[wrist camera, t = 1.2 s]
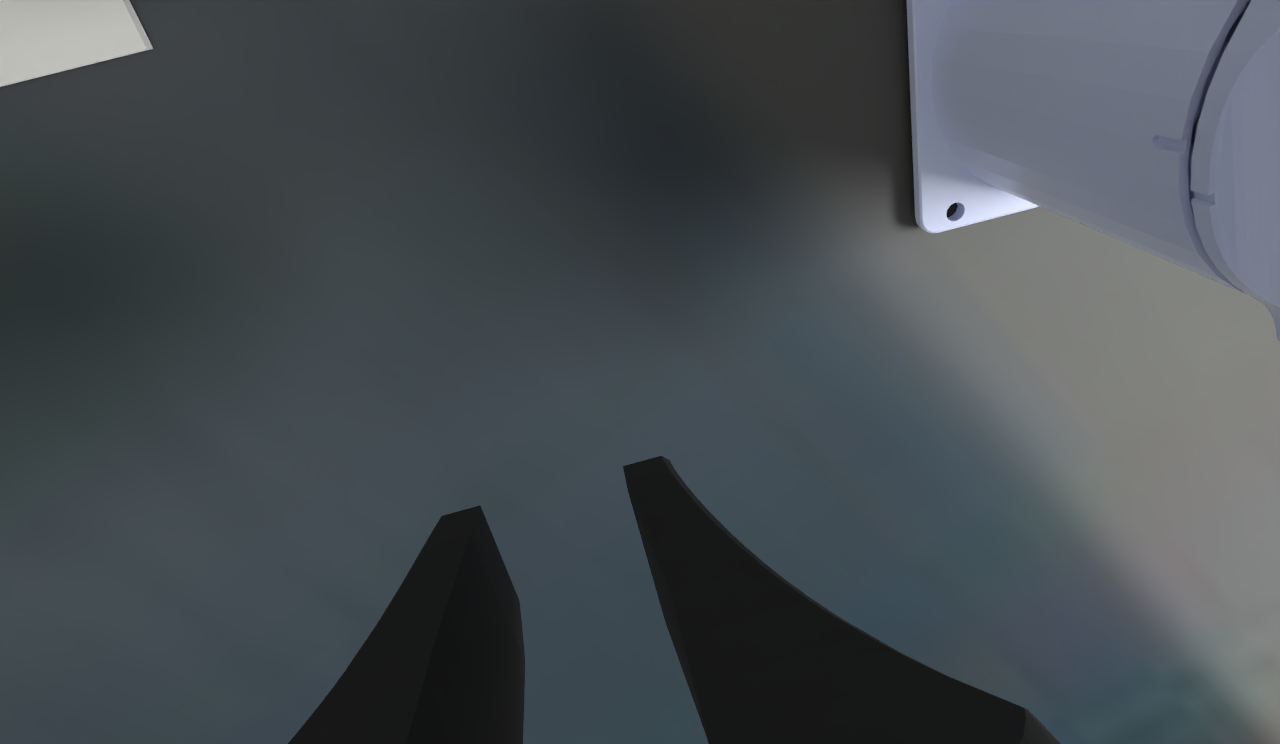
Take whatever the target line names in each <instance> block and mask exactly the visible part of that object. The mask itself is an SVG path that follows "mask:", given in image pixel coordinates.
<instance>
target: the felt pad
mask: <svg viewBox="0 0 1280 744" xmlns="http://www.w3.org/2000/svg"><path fill="white" fill-rule="evenodd" d="M150 49H153V47H152V45H151V43H150V41H149V39H148V37H147V35H146V33H145V31H144V29H143V27H142V25H141V23H140V21H139V19H138V17H137V15H136V13H135V11H134V9H133V7H132V5H131V3H130V1H129V0H0V87H3V86H7V85H11V84H15V83H19V82H23V81H27V80H31V79H35V78H39V77H43V76H47V75H51V74H55V73H59V72H63V71H67V70H71V69H75V68H79V67H83V66H87V65H90V64H94V63H98V62H102V61H106V60H110V59H114V58H118V57H122V56H126V55H130V54H134V53H138V52H142V51H146V50H150Z"/></svg>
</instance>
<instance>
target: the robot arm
mask: <svg viewBox="0 0 1280 744" xmlns="http://www.w3.org/2000/svg"><path fill="white" fill-rule="evenodd" d="M907 24H908V49H909V74H910V99H911V124H912V149H913V174H914V200H915V219H916V222H917V224H918V226H919V227H920V228H921V229H923V230H925V231H927V232H929V233H939V232H943V231H947V230H951V229H955V228H958V227H962V226H966V225H970V224H974V223H978V222H982V221H986V220H989V219H993V218H997V217H1001V216H1005V215H1009V214H1013V213H1016V212H1020V211H1024V210H1028V209H1032V208H1036V207H1043V208H1045V209H1047V210H1050V211H1052V212H1054V213H1057V214H1059V215H1061V216H1064V217H1066V218H1069V219H1071V220H1073V221H1076V222H1078V223H1080V224H1083V225H1085V226H1087V227H1090V228H1092V229H1094V230H1097V231H1099V232H1101V233H1104V234H1106V235H1109V236H1111V237H1113V238H1116V239H1118V240H1120V241H1123V242H1125V243H1127V244H1130V245H1132V246H1134V247H1137V248H1139V249H1141V250H1144V251H1146V252H1148V253H1151V254H1153V255H1156V256H1158V257H1160V258H1163V259H1165V260H1167V261H1170V262H1172V263H1174V264H1177V265H1179V266H1181V267H1184V268H1186V269H1188V270H1191V271H1193V272H1195V273H1198V274H1200V275H1203V276H1205V277H1207V278H1210V279H1212V280H1214V281H1217V282H1219V283H1221V284H1224V285H1226V286H1228V287H1231V288H1233V289H1235V290H1238V291H1240V292H1243V293H1246V294H1249V295H1251V296H1252V297H1254V298H1255V299H1257V300H1258V301H1260V302H1261V303H1263V304H1264V305H1265V306H1266V307H1267V309H1268V310H1269V311H1270V313H1271V315H1272V317H1273V319H1274V322H1275V326H1276V334H1277V338H1278V340H1280V0H907ZM954 203H957V205H958V206H957V210H956V212H955V213H954V214H953V215H952V216H950V217H947V215H946V213H947V209H948V208H949V207H950V205H952V204H954ZM623 468H624V473H625V478H626V483H627V488H628V492H629V496H630V499H631V503H632V506H633V510H634V513H635V517H636V520H637V524H638V527H639V531H640V534H641V538H642V541H643V545H644V548H645V552H646V555H647V559H648V562H649V566H650V569H651V573H652V576H653V580H654V583H655V587H656V590H657V594H658V597H659V601H660V605H661V608H662V612H663V615H664V619H665V622H666V625H667V628H668V630H669V633H670V636H671V639H672V641H673V644H674V647H675V650H676V653H677V655H678V658H679V661H680V664H681V667H682V669H683V672H684V675H685V678H686V680H687V683H688V686H689V689H690V692H691V694H692V697H693V700H694V703H695V705H696V708H697V711H698V714H699V717H700V719H701V722H702V725H703V728H704V730H705V733H706V736H707V739H708V743H709V744H1061V743H1060V742H1059V741H1058V740H1057V739H1056V738H1055V737H1054V736H1053V735H1052V734H1051V733H1050V732H1049V731H1048V730H1047V729H1046V728H1045V727H1044V726H1043V725H1042V724H1041V723H1040V722H1039V721H1038V720H1037V719H1036V718H1035V717H1034V716H1033V715H1032V714H1031V713H1030V712H1029V711H1028V710H1027V709H1025V708H1023V707H1020V706H1018V705H1016V704H1013V703H1011V702H1008V701H1006V700H1003V699H1001V698H999V697H996V696H994V695H991V694H989V693H987V692H984V691H982V690H979V689H977V688H975V687H972V686H970V685H967V684H965V683H962V682H960V681H958V680H955V679H953V678H950V677H948V676H946V675H944V674H942V673H940V672H938V671H936V670H934V669H932V668H930V667H928V666H926V665H924V664H922V663H920V662H918V661H916V660H914V659H912V658H910V657H908V656H906V655H904V654H902V653H900V652H898V651H897V650H895V649H893V648H891V647H890V646H888V645H886V644H884V643H883V642H881V641H879V640H877V639H876V638H874V637H872V636H870V635H869V634H867V633H865V632H863V631H862V630H860V629H858V628H856V627H855V626H853V625H851V624H849V623H848V622H846V621H844V620H843V619H841V618H839V617H838V616H836V615H835V614H833V613H832V612H830V611H829V610H827V609H826V608H824V607H823V606H821V605H820V604H818V603H817V602H815V601H814V600H812V599H811V598H809V597H808V596H807V595H805V594H804V593H803V592H801V591H800V590H798V589H797V588H796V587H794V586H793V585H791V584H790V583H789V582H787V581H786V580H785V579H784V578H782V577H781V576H780V575H778V574H777V573H776V572H775V571H773V570H772V569H771V568H770V567H768V566H767V565H766V564H765V563H764V562H762V561H761V560H760V559H759V558H758V557H757V556H755V555H754V554H753V553H752V552H751V551H750V550H749V549H747V548H746V547H745V546H744V545H743V544H742V543H741V542H740V541H739V540H737V539H736V538H735V537H734V536H733V535H732V534H731V533H730V532H729V531H728V530H727V529H726V528H725V527H724V526H723V525H722V524H721V523H720V522H719V521H718V520H717V519H716V518H715V517H714V516H713V515H712V514H711V513H710V512H709V511H708V510H707V509H706V508H705V507H704V505H703V504H702V503H701V502H700V501H699V500H698V499H697V498H696V496H695V495H694V494H693V493H692V492H691V490H690V489H689V488H688V487H687V486H686V484H685V483H684V482H683V480H682V479H681V478H680V476H679V475H678V474H677V472H676V470H675V469H674V467H673V466H672V464H671V462H670V460H668V459H666V458H664V457H662V456H659V457H655V458H652V459H648V460H644V461H641V462H637V463H633V464H630V465H626V466H623ZM524 685H525V655H524V643H523V632H522V622H521V612H520V602H519V599H518V596H517V594H516V591H515V589H514V587H513V584H512V582H511V579H510V577H509V574H508V572H507V570H506V567H505V565H504V562H503V560H502V557H501V555H500V552H499V550H498V548H497V545H496V543H495V540H494V538H493V535H492V533H491V531H490V528H489V526H488V523H487V521H486V518H485V516H484V513H483V511H482V509H481V506H477V507H473V508H469V509H466V510H462V511H458V512H455V513H451V514H448V515H444V516H442V517H441V518H440V520H439V522H438V523H437V525H436V526H435V528H434V530H433V531H432V533H431V535H430V536H429V538H428V540H427V541H426V543H425V545H424V547H423V548H422V550H421V552H420V554H419V555H418V557H417V559H416V560H415V562H414V564H413V566H412V567H411V569H410V571H409V572H408V574H407V576H406V578H405V579H404V581H403V583H402V584H401V586H400V588H399V589H398V591H397V593H396V594H395V596H394V597H393V599H392V601H391V602H390V604H389V606H388V607H387V609H386V610H385V612H384V614H383V615H382V617H381V619H380V620H379V622H378V623H377V625H376V626H375V628H374V629H373V631H372V632H371V634H370V635H369V637H368V638H367V640H366V641H365V643H364V644H363V646H362V647H361V649H360V650H359V651H358V653H357V654H356V656H355V657H354V659H353V660H352V662H351V663H350V665H349V666H348V668H347V669H346V671H345V672H344V673H343V675H342V676H341V678H340V679H339V680H338V682H337V683H336V684H335V686H334V687H333V688H332V690H331V691H330V692H329V694H328V695H327V696H326V697H325V699H324V700H323V701H322V703H321V704H320V705H319V707H318V708H317V709H316V710H315V711H314V713H313V714H312V715H311V716H310V718H309V719H308V720H307V721H306V723H305V724H304V725H303V726H302V727H301V729H300V730H299V731H298V732H297V734H296V735H295V736H294V737H293V739H292V740H291V741H290V742H289V743H288V744H523V719H524Z"/></svg>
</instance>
